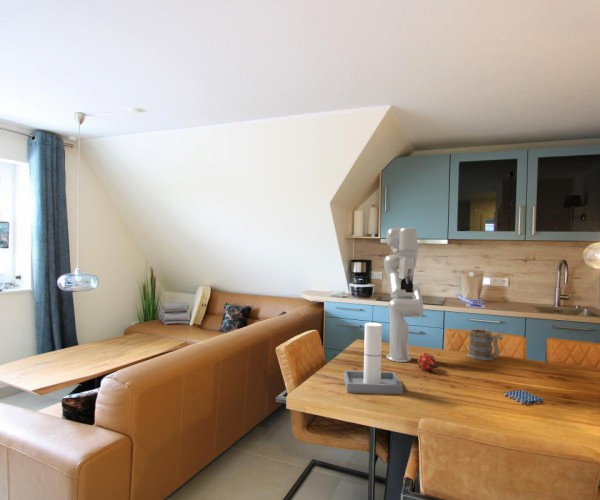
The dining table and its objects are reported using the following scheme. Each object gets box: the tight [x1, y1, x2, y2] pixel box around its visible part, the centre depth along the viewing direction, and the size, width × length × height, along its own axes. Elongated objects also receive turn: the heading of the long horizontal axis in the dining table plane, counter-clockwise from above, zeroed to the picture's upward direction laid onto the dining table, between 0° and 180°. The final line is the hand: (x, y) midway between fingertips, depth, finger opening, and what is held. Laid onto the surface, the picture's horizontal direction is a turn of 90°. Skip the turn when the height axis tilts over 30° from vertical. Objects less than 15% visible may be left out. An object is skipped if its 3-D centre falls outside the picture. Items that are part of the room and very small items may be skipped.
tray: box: [343, 370, 404, 395], centre depth 162 cm, size 16×22×4 cm
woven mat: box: [503, 389, 545, 406], centre depth 151 cm, size 10×11×2 cm
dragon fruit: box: [417, 352, 440, 373], centre depth 183 cm, size 8×8×12 cm
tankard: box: [466, 328, 504, 361], centre depth 204 cm, size 20×13×15 cm, turn 17°
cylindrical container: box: [363, 322, 383, 384], centre depth 162 cm, size 7×7×25 cm
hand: (406, 291), depth 178 cm, fingers open, 9 cm apart
